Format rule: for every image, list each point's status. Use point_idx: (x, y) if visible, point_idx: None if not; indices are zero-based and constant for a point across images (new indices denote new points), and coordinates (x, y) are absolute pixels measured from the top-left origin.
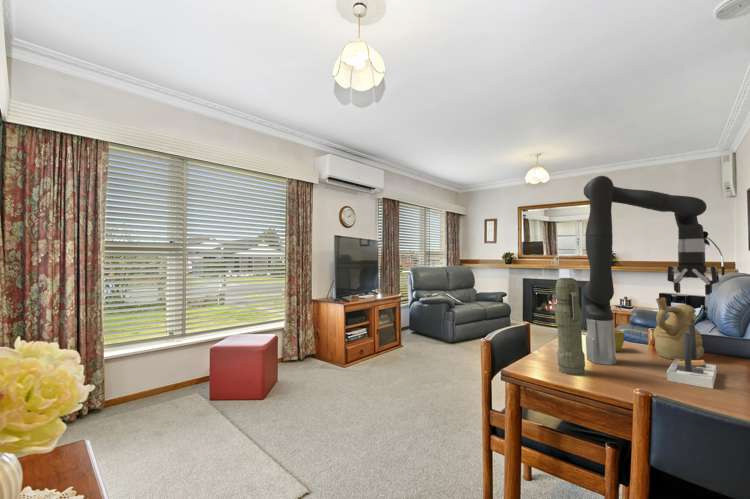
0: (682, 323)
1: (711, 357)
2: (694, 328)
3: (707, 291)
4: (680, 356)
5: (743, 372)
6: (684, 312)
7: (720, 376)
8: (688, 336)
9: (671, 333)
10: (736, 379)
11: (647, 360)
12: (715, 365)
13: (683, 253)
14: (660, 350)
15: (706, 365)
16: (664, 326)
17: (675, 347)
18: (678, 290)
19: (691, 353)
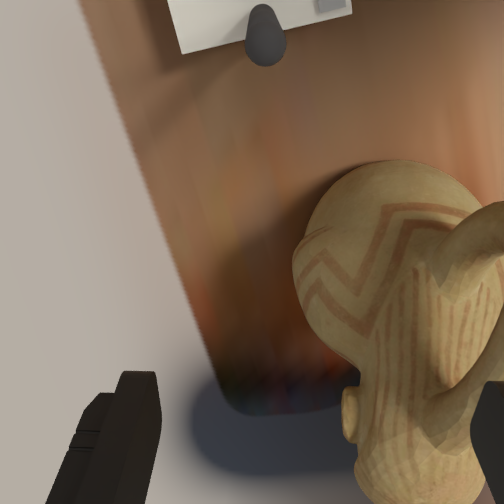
0: (392, 323)
1: (287, 316)
2: (245, 38)
3: (114, 407)
4: (358, 170)
5: (139, 168)
6: (405, 419)
7: (162, 10)
8: None
9: (426, 229)
10: (106, 13)
11: (480, 48)
12: (180, 44)
13: None
14: (449, 175)
15: (206, 4)
16: (477, 212)
17: (386, 178)
18: (501, 417)
19: (270, 8)
